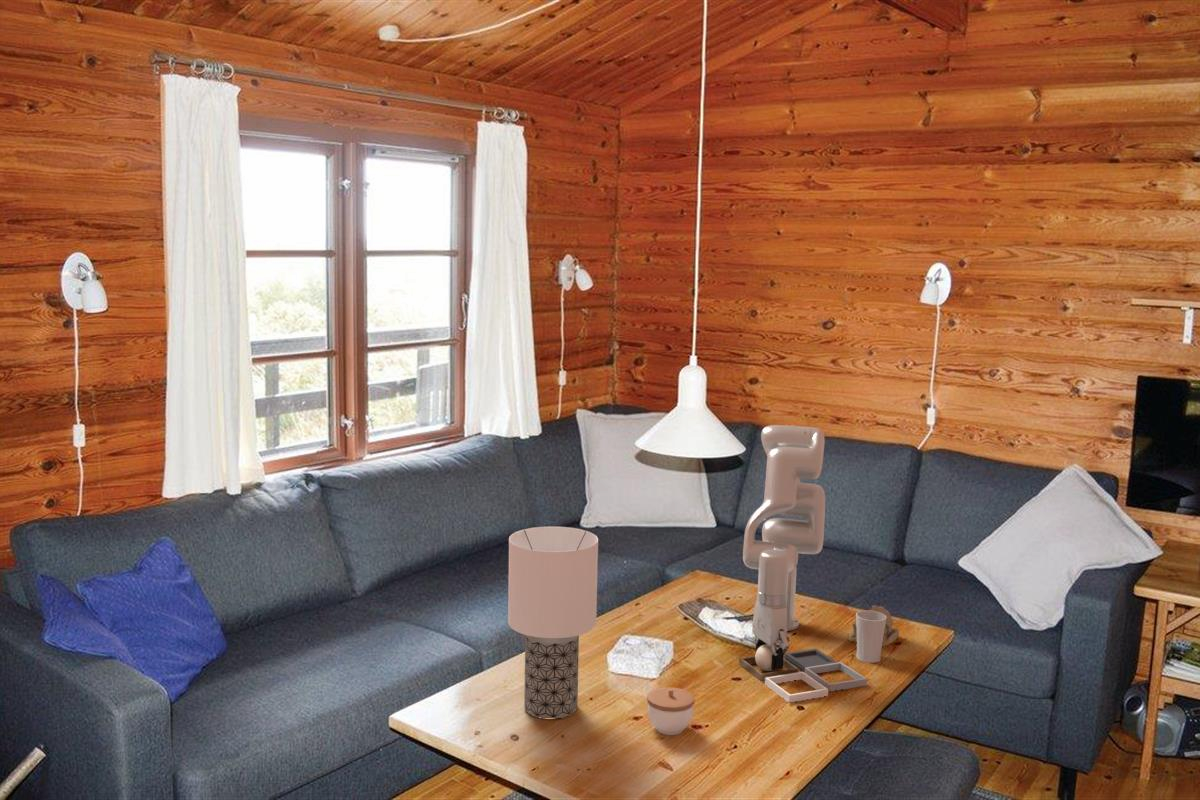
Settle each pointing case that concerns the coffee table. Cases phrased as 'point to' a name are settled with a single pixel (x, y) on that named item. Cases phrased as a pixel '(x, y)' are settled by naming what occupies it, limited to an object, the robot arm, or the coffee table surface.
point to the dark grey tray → (808, 658)
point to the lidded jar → (670, 709)
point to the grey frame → (857, 682)
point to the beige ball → (764, 657)
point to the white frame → (817, 693)
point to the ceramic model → (889, 631)
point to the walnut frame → (751, 660)
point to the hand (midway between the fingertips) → (768, 662)
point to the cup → (869, 635)
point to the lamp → (552, 611)
